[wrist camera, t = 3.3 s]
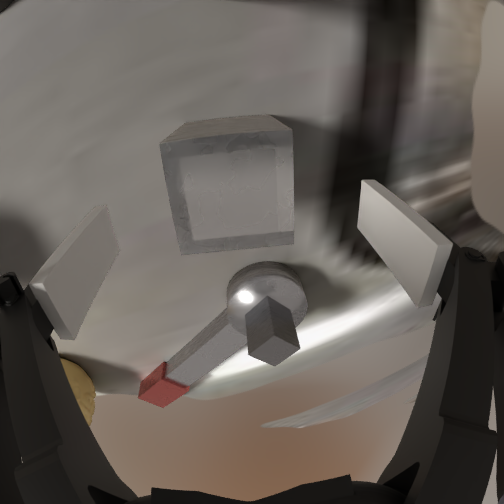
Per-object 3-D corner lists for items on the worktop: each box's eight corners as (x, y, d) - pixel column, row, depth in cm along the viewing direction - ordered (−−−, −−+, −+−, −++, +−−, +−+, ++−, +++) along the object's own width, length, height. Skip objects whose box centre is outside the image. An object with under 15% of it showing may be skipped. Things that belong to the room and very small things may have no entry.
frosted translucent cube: (185, 122, 20) (159, 143, 13) (268, 114, 21) (292, 129, 13) (195, 198, 24) (181, 255, 16) (272, 190, 24) (293, 244, 17)
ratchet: (262, 247, 27) (273, 305, 20) (316, 286, 30) (337, 342, 24) (130, 377, 38) (122, 421, 31) (174, 395, 41) (171, 438, 35)
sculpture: (106, 394, 41) (96, 445, 32) (51, 378, 39) (35, 424, 30) (94, 358, 35) (77, 419, 26) (32, 340, 33) (8, 393, 24)
